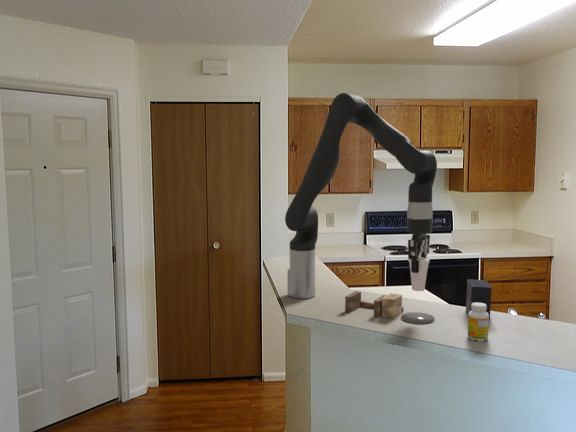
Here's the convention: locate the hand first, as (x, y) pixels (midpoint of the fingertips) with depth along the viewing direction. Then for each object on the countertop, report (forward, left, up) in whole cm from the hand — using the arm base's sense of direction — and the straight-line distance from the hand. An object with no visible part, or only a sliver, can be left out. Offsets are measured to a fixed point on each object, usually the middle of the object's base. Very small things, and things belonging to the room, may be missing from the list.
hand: (418, 270), depth 166 cm
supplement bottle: (+20, -9, -16) cm, 27 cm away
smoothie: (0, 0, -6) cm, 6 cm away
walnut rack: (-15, 0, -15) cm, 21 cm away
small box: (+15, +14, -16) cm, 26 cm away
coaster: (0, 0, -15) cm, 15 cm away
